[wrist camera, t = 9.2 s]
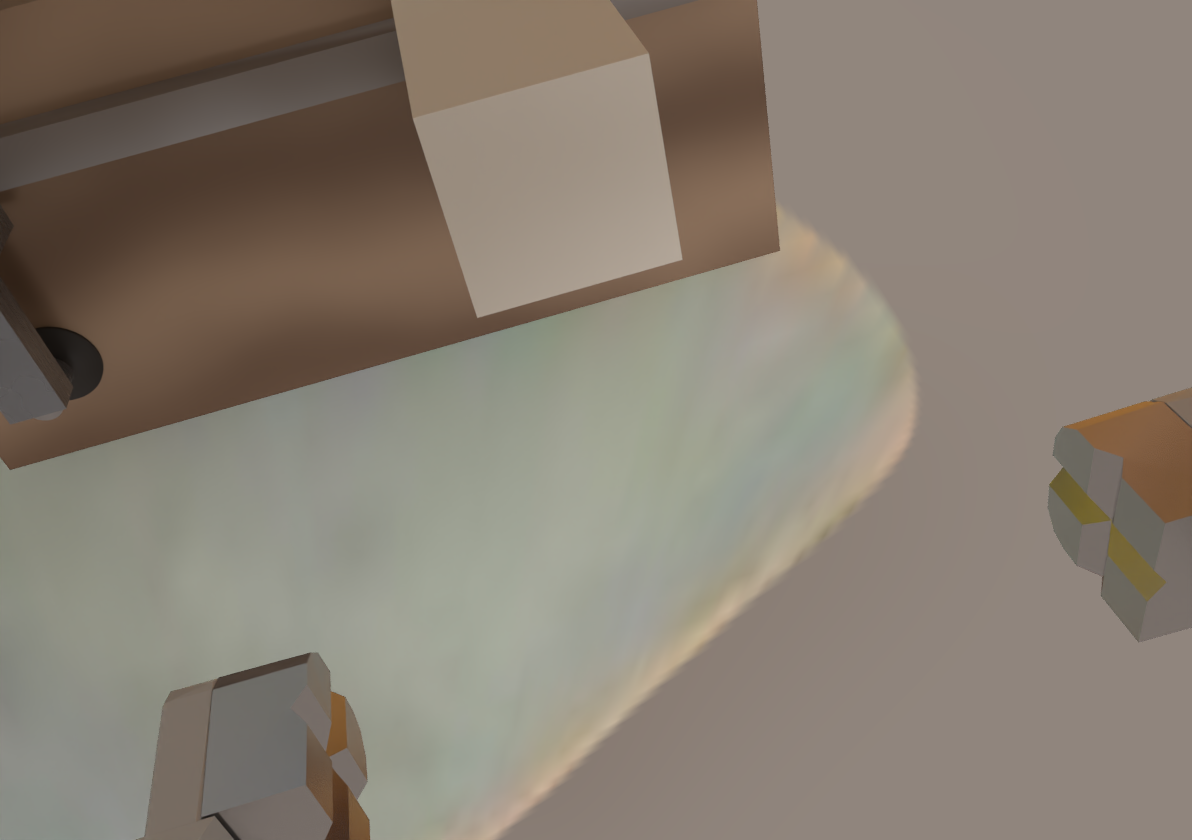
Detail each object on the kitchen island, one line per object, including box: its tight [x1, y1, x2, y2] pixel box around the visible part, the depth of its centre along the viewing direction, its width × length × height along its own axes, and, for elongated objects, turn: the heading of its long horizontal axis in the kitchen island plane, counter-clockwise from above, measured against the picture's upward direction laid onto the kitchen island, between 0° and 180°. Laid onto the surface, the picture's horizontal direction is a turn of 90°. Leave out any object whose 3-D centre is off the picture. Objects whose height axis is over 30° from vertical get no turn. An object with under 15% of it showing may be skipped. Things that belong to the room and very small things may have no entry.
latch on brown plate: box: [0, 0, 780, 470], centre depth 28 cm, size 12×24×2 cm, turn 101°
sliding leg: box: [391, 0, 682, 318], centre depth 23 cm, size 9×4×10 cm, turn 11°
